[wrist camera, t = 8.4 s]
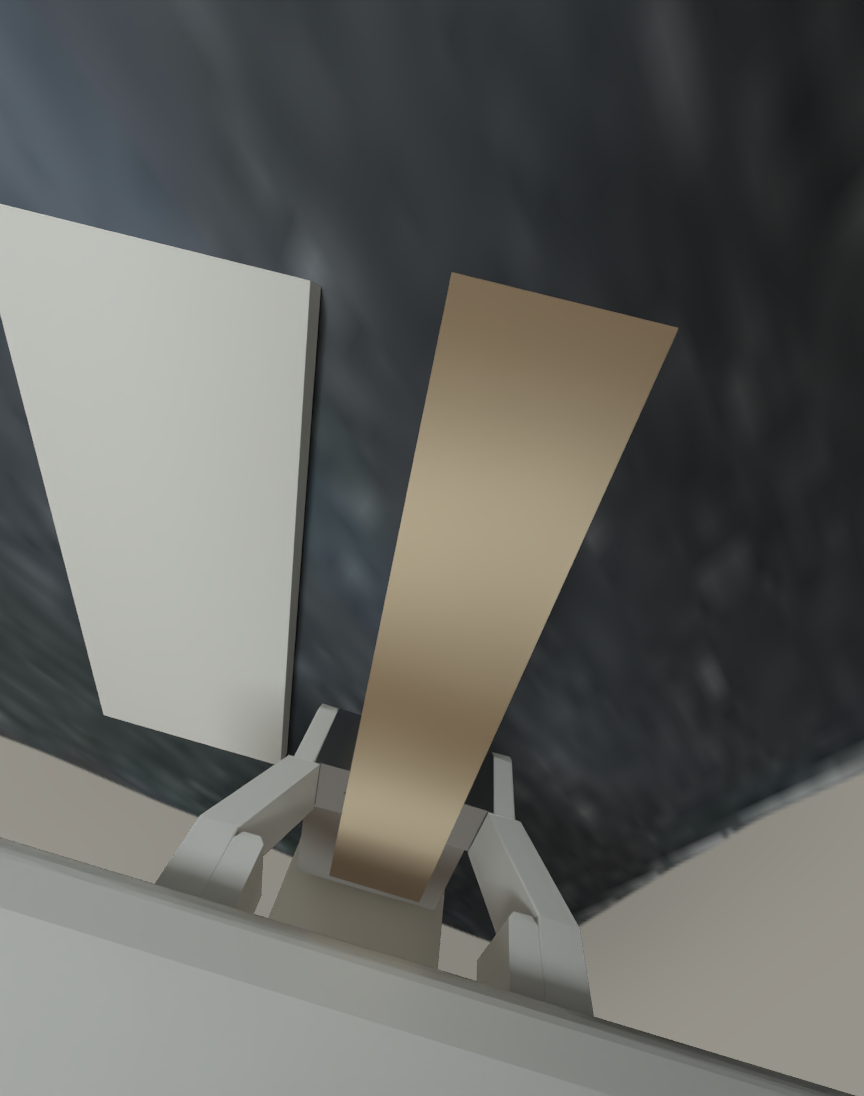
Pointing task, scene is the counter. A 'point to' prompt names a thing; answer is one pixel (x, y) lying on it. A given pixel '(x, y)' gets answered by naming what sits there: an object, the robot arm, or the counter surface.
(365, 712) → the wooden handled scraper
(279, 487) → the board
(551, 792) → the counter surface
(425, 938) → the tile
